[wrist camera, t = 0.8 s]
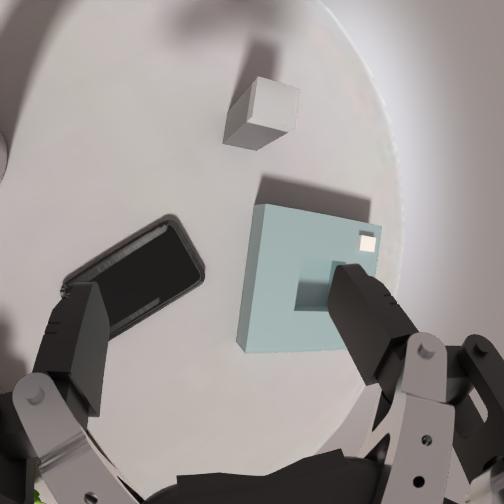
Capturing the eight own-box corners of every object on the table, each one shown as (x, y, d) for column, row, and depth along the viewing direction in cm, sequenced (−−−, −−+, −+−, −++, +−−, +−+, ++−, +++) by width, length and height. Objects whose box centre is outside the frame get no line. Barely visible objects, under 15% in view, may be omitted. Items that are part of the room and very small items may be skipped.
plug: (222, 143, 34) (252, 116, 24) (227, 111, 33) (258, 76, 24) (256, 150, 35) (295, 128, 26) (260, 119, 35) (299, 88, 25)
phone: (56, 289, 28) (173, 216, 32) (59, 287, 30) (172, 216, 33) (96, 349, 30) (209, 280, 34) (97, 346, 31) (207, 278, 35)
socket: (236, 341, 36) (247, 355, 33) (254, 204, 35) (267, 203, 32) (346, 339, 42) (363, 349, 38) (364, 225, 41) (385, 226, 37)
